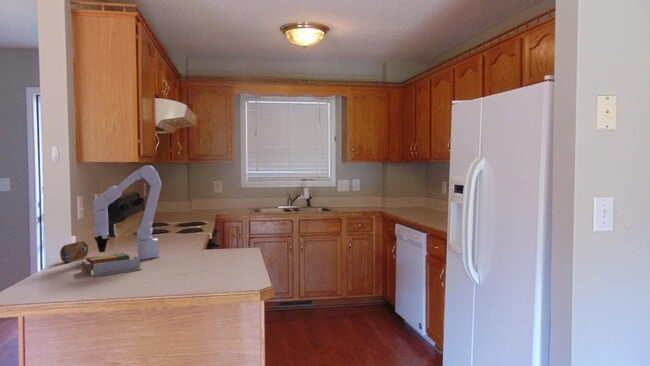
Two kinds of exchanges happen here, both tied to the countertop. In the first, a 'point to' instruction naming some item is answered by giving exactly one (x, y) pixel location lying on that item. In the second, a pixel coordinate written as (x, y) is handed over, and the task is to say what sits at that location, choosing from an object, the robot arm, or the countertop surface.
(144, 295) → the countertop surface
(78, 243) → the tin
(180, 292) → the countertop surface
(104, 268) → the grey long block
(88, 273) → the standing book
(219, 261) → the countertop surface
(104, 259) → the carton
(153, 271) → the countertop surface
